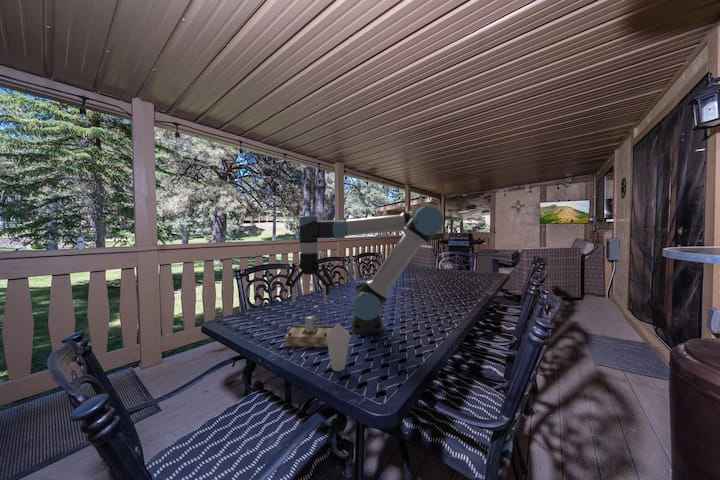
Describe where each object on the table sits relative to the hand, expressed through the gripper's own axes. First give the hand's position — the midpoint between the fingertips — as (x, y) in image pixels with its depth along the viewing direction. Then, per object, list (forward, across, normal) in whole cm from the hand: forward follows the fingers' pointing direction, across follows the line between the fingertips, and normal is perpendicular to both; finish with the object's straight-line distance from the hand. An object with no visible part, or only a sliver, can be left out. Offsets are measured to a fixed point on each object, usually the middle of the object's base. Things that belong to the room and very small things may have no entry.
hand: (309, 302), depth 115 cm
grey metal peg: (+17, 0, 0) cm, 17 cm away
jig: (+17, 0, 0) cm, 17 cm away
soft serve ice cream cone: (+17, -15, +22) cm, 32 cm away
